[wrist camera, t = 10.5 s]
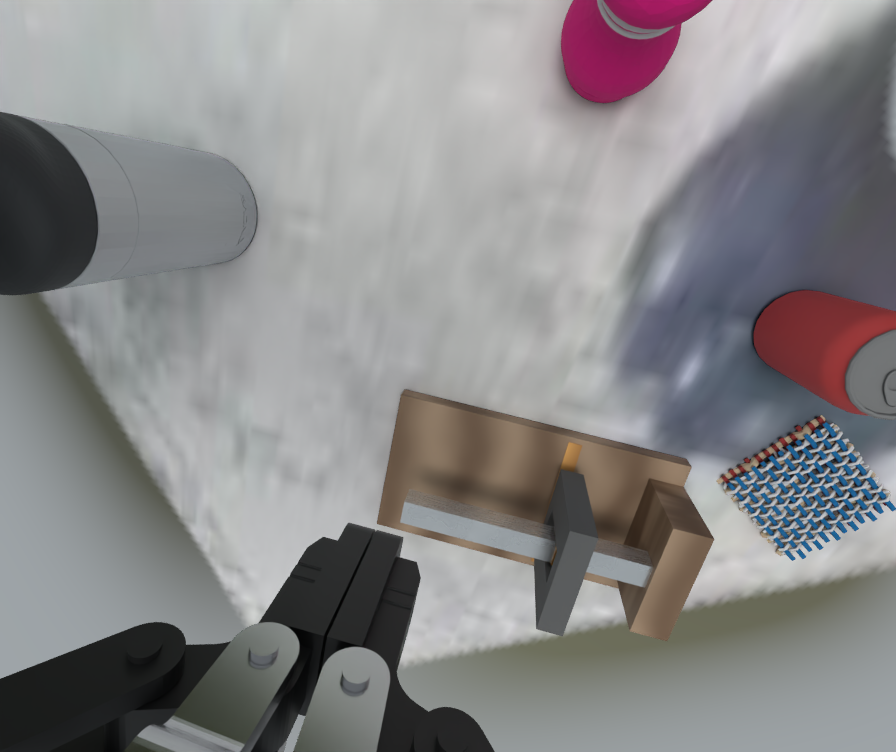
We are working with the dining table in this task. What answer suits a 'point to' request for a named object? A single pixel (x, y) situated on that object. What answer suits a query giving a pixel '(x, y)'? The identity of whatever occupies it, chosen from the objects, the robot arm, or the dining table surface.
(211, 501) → the dining table surface
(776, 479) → the woven mat
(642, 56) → the pepper mill
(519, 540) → the light grey beam
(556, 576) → the dark grey block
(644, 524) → the base board
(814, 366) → the beer can
